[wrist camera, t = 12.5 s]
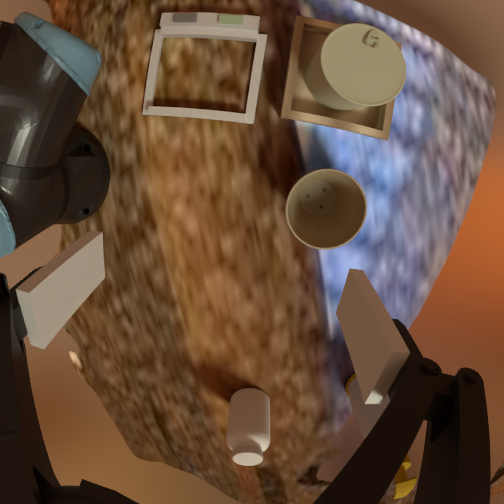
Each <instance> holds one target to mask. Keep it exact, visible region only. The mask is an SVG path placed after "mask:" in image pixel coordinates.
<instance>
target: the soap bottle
mask: <svg viewBox="0 0 504 504" xmlns="http://www.w3.org/2000/svg"><path fill="white" fill-rule="evenodd" d="M346 393H347V395H348V396H349V397H350V401H351V405H352V408H353V411H354V414H355V417H356V420H357V423H358V425H359V427H360V430H361V432H362V434H363V436H364V438H366V437H367V435H368V434H369V433H370V431H371V430H372V428H373V427H374V425H375V424H376V422H377V421H378V419H379V418H380V416H381V415H382V413H383V412H384V410H385V408H386V407H387V405H388V404H389V402H390V399H389V396H388V393H387V395H386V397H385V398H384V400H383V402H382V403H381V404H364V400H363V397H362V393H361V390H360V387H359V383H358V380H357V377H356V373H354V374H353V375H352V376H351V377H350V378H349V379H348V382H347V385H346ZM410 466H411V462H410V459H409V456H408V453H407V455H406V457H405V459H404V461H403V463H402V464H401V466H400V468H399V470H398V472H397V473H396V475H395V481H396V482H395V485H396V489H395V494H394V496H392V500H394V499H397V498H401V497H404V496H406V495H407V494H408V493H409V492H410V491H411V490H412V489H413V487H414V485H415V483H416V481H417V477H412V478H409V479H408V477H407V474H406V469H407V468H409V467H410Z"/></svg>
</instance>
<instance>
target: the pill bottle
mask: <svg viewBox="0 0 504 504" xmlns="http://www.w3.org/2000/svg"><path fill="white" fill-rule="evenodd" d="M226 442H227V445H228V447H229V448H230V449H231V450H232V452H233V453H232V459H233V461H234V462H236V463H237V464H240V465H245V466H252V465H257V464H259V463H261V462H262V460H263V451H265V450H266V449H267V448H268V446H269V444H270V401H269V397H268V396H267V394H266V393H265V392H263V391H261V390H259V389H255V388H244V389H240V390H238V391H236V392H235V393H234V394H233V395H232V397H231V400H230V409H229V417H228V426H227V435H226Z"/></svg>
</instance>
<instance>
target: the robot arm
mask: <svg viewBox="0 0 504 504" xmlns="http://www.w3.org/2000/svg"><path fill="white" fill-rule="evenodd" d="M14 22H15V23H14V24H12V23H8V22H4V21H0V258H1V257H3V256H5V255H9V254H11V253H12V252H13V251H14V250H15V249H16V248H18V247H19V246H21V245H22V244H24V243H25V242H27V241H28V240H30V239H31V238H33V237H34V236H36V235H37V234H39V233H40V232H42V231H44V230H45V229H47V228H48V227H50V226H52V225H53V224H74V223H77V222H80V221H82V220H84V219H86V218H88V217H89V216H91V215H92V214H94V213H95V212H96V211H97V210H98V209H99V208H100V206H101V205H102V203H103V202H104V200H105V197H106V195H107V192H108V188H109V181H110V170H109V163H108V159H107V156H106V153H105V151H104V149H103V147H102V146H101V144H100V143H99V141H98V140H97V139H96V138H95V137H94V136H93V135H92V134H90V133H89V132H87V131H85V130H83V129H80V128H73V126H74V124H75V121H76V119H77V117H78V115H79V113H80V110H81V108H82V106H83V104H84V102H85V100H86V98H87V96H89V95H90V89H91V86H92V84H93V82H94V80H95V78H96V76H97V74H98V71H99V69H100V67H101V63H102V58H101V54H100V53H99V51H98V50H97V49H96V48H94V47H93V46H92V45H90V44H88V43H87V42H85V41H83V40H82V39H80V38H78V37H77V36H75V35H73V34H71V33H69V32H68V31H66V30H64V29H62V28H60V27H58V26H56V25H54V24H52V23H50V22H47V21H45V20H43V19H41V18H39V17H37V16H35V15H33V14H30V13H28V12H23V13H21V14H20V15H19V16H18V17H17V18H15V20H14ZM104 278H105V271H104V256H103V234H102V232H97V231H89V232H88V233H87V234H85V235H84V236H82V237H81V238H80V239H78V240H77V241H76V242H74V243H73V244H72V245H70V246H69V247H68V248H66V249H65V250H64V251H62V252H61V253H60V254H58V255H57V256H56V257H54V258H53V259H52V260H51V261H49V262H48V263H47V264H46V265H44V266H42V267H39V268H37V269H35V270H33V271H32V272H31V273H30V274H28V276H26V277H25V278H23V280H21V281H20V282H19V283H17V284H16V285H15V286H14V287H13V288H11V289H10V290H9V287H8V283H7V279H6V275H4V274H3V273H0V504H139V503H137V502H135V501H133V500H131V499H129V498H127V497H126V496H124V495H122V494H120V493H118V492H117V491H115V490H112V489H109V488H106V487H102V486H100V485H97V484H94V483H92V482H89V481H86V480H84V479H82V481H81V484H80V486H61V485H60V484H59V482H58V480H57V478H56V476H55V475H54V472H53V469H52V466H51V463H50V460H49V457H48V454H47V450H46V447H45V444H44V441H43V437H42V433H41V429H40V425H39V421H38V417H37V413H36V408H35V404H34V399H33V394H32V389H31V383H30V377H29V371H28V364H27V358H26V349H25V344H24V341H23V338H24V337H25V336H26V335H27V334H28V337H29V340H30V343H31V345H34V346H36V347H39V348H41V349H45V348H46V346H47V345H48V344H49V343H50V341H51V340H52V339H53V337H54V336H55V335H56V334H57V333H58V331H59V330H60V329H61V328H62V327H63V325H64V324H65V323H66V322H67V321H68V319H69V318H70V317H71V316H72V315H73V313H74V312H75V311H76V310H77V309H78V308H79V306H80V305H81V304H82V303H83V302H84V301H85V300H86V298H87V297H88V296H89V295H90V294H91V293H92V292H93V291H94V289H95V288H96V287H97V286H98V285H99V284H100V283H101V282H102V280H103V279H104ZM336 314H337V317H338V320H339V323H340V326H341V329H342V332H343V335H344V338H345V342H346V345H347V348H348V351H349V354H350V357H351V360H352V364H353V367H354V370H355V373H356V377H357V380H358V383H359V387H360V390H361V393H362V397H363V400H364V404H381V403H382V402H383V400H384V398H385V397H386V395H387V393H388V396H389V399H390V402H389V404H388V405H387V407H386V408H385V410H384V412H383V413H382V415H381V416H380V418H379V419H378V421H377V422H376V424H375V425H374V427H373V428H372V430H371V431H370V433H369V434H368V435H367V437H366V438H365V440H364V441H363V442H362V444H361V445H360V447H359V448H358V449H357V451H356V452H355V453H354V455H353V456H352V457H351V459H350V460H349V461H348V462H347V464H346V465H345V466H344V468H343V469H342V470H341V471H340V473H339V474H338V475H337V476H336V477H335V479H334V480H333V481H332V482H331V483H330V485H329V486H328V487H327V488H326V489H325V490H324V492H323V493H322V494H321V495H320V496H319V497H318V498H317V500H316V501H315V502H314V503H313V504H378V503H379V501H380V500H381V498H382V497H383V495H384V493H385V492H386V490H387V489H388V487H389V485H390V484H391V482H392V480H393V478H394V477H395V475H396V473H397V472H398V470H399V468H400V466H401V464H402V463H403V461H404V459H405V457H406V455H407V453H408V451H409V449H410V447H411V445H412V443H413V441H414V439H415V437H416V435H417V433H418V431H419V429H420V427H421V425H422V422H423V420H427V430H426V438H425V445H424V453H423V459H422V465H421V470H420V476H419V481H418V486H417V491H416V495H415V500H414V504H489V503H490V440H489V425H488V414H487V405H486V398H485V390H484V383H483V380H482V377H481V376H480V375H479V373H478V372H476V371H475V370H472V369H470V368H461V369H460V370H459V371H458V372H457V374H456V375H455V376H452V375H448V374H443V373H442V371H441V368H440V367H439V365H438V364H437V363H436V362H434V361H432V360H431V359H428V358H423V356H422V354H421V352H420V351H419V349H418V347H417V345H416V344H415V342H414V341H413V339H412V337H411V335H409V332H408V330H407V328H406V326H405V325H404V324H402V323H401V322H400V321H399V320H398V319H391V317H390V315H389V313H388V312H387V310H386V308H385V306H384V305H383V303H382V301H381V300H380V298H379V296H378V294H377V293H376V291H375V289H374V288H373V286H372V284H371V283H370V281H369V279H368V278H367V276H366V274H365V273H364V271H363V270H357V269H349V273H348V276H347V279H346V283H345V286H344V289H343V293H342V296H341V299H340V302H339V305H338V308H337V311H336Z"/></svg>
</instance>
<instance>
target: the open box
mask: <svg viewBox="0 0 504 504" xmlns="http://www.w3.org/2000/svg"><path fill="white" fill-rule="evenodd" d="M340 26H342V25H340V24H336V23H332V22H328V21H323V20H319V19H314V18H309V17H304V16H298V15H297V16H296V20H295V23H294V28H293V35H292V41H291V48H290V54H289V61H288V67H287V74H286V80H285V87H284V93H283V100H282V106H281V112H280V118H286V119H292V120H297V121H303V122H308V123H313V124H318V125H323V126H328V127H332V128H337V129H341V130H346V131H350V132H354V133H358V134H362V135H366V136H370V137H374V138H377V139H383V140H388V138H389V132H390V127H391V121H392V115H393V108H394V102H395V98H394V99H392V100H391V101H389V102H388V103H385V104H383V105H379V106H365V107H358V108H355V109H352V110H348V111H337V110H332V109H329V108H327V107H325V106H323V105H322V104H320V103H319V102H318V101H317V100H316V99H315V98H314V97H313V96H312V95H311V93H310V91H309V90H308V87H307V85H306V80H305V70H306V66H307V64H308V62H309V60H310V58H311V57H312V56H313V55H314V54H315V53H316V52H317V51H318V50H319V48H320V47H321V46H322V44H323V42H324V40H325V38H326V37H327V36H328V34H329V33H330V32H332V31H333V30H334V29H336V28H337V27H340ZM394 42H395V43H396V44H397V46H398V47H399V49H400V51H401V43H399V42H396V41H394Z"/></svg>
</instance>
